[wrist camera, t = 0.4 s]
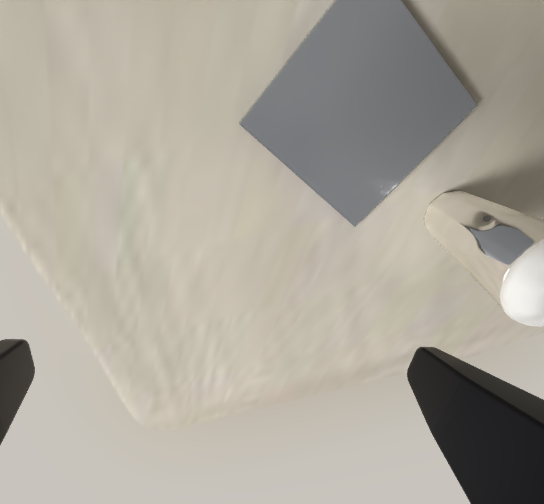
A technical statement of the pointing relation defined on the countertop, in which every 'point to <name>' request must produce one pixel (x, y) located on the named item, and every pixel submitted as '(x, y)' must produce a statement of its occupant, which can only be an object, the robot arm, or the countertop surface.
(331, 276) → the countertop surface
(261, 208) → the countertop surface
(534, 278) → the milkshake
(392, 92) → the coaster
